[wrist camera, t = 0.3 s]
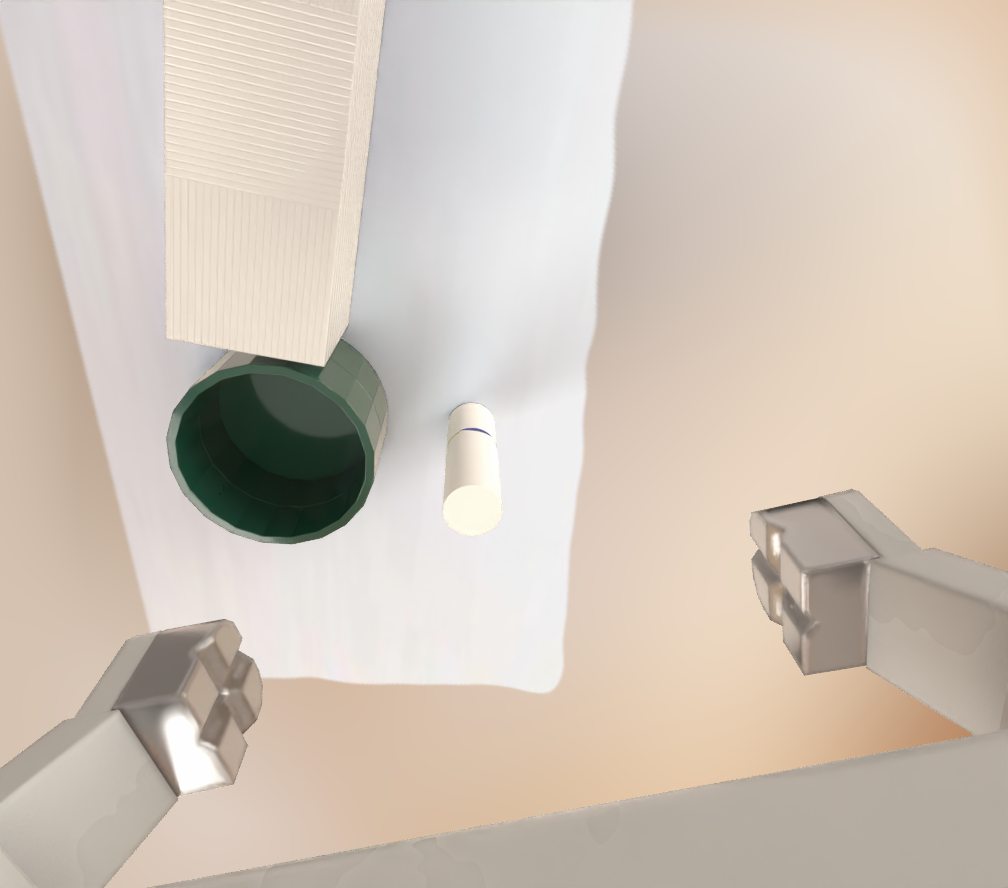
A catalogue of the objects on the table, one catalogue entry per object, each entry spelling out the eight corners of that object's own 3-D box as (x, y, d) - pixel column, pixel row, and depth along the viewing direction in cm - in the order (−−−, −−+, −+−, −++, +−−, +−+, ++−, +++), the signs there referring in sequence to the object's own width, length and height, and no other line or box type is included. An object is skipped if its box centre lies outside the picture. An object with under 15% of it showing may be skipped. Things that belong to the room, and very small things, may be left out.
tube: (463, 452, 62) (463, 545, 49) (439, 417, 60) (431, 502, 47) (503, 431, 61) (513, 518, 48) (479, 394, 60) (482, 474, 46)
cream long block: (232, -200, 41) (160, -298, 31) (403, -150, 43) (384, -229, 33) (218, 299, 55) (165, 338, 45) (348, 324, 56) (323, 367, 46)
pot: (184, 347, 56) (130, 390, 47) (358, 308, 56) (337, 344, 47) (252, 497, 63) (216, 560, 54) (407, 464, 62) (398, 522, 53)
